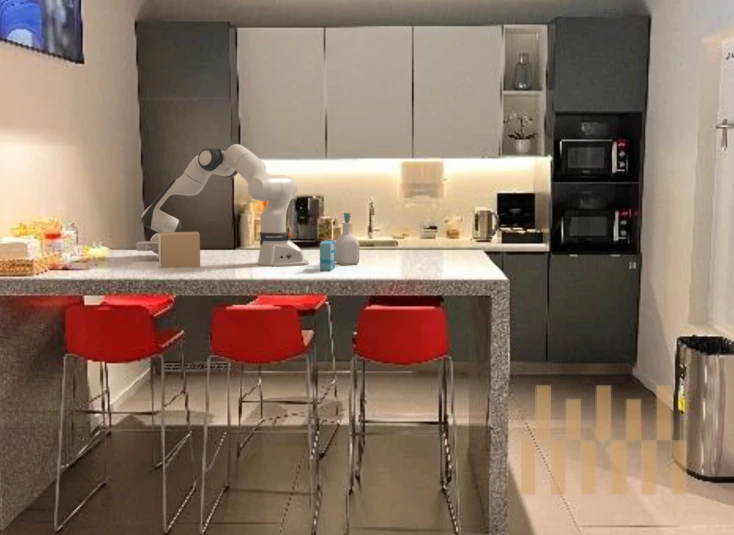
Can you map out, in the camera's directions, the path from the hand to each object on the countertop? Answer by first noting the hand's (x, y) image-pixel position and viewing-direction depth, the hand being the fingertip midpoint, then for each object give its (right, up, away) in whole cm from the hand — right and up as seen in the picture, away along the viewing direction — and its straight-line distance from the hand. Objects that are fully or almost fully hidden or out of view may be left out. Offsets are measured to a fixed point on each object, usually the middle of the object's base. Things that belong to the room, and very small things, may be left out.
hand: (159, 247), depth 360 cm
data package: (+75, -10, -15) cm, 77 cm away
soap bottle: (+83, -7, +3) cm, 83 cm away
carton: (+11, -8, -7) cm, 15 cm away
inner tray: (+9, -7, -5) cm, 12 cm away
